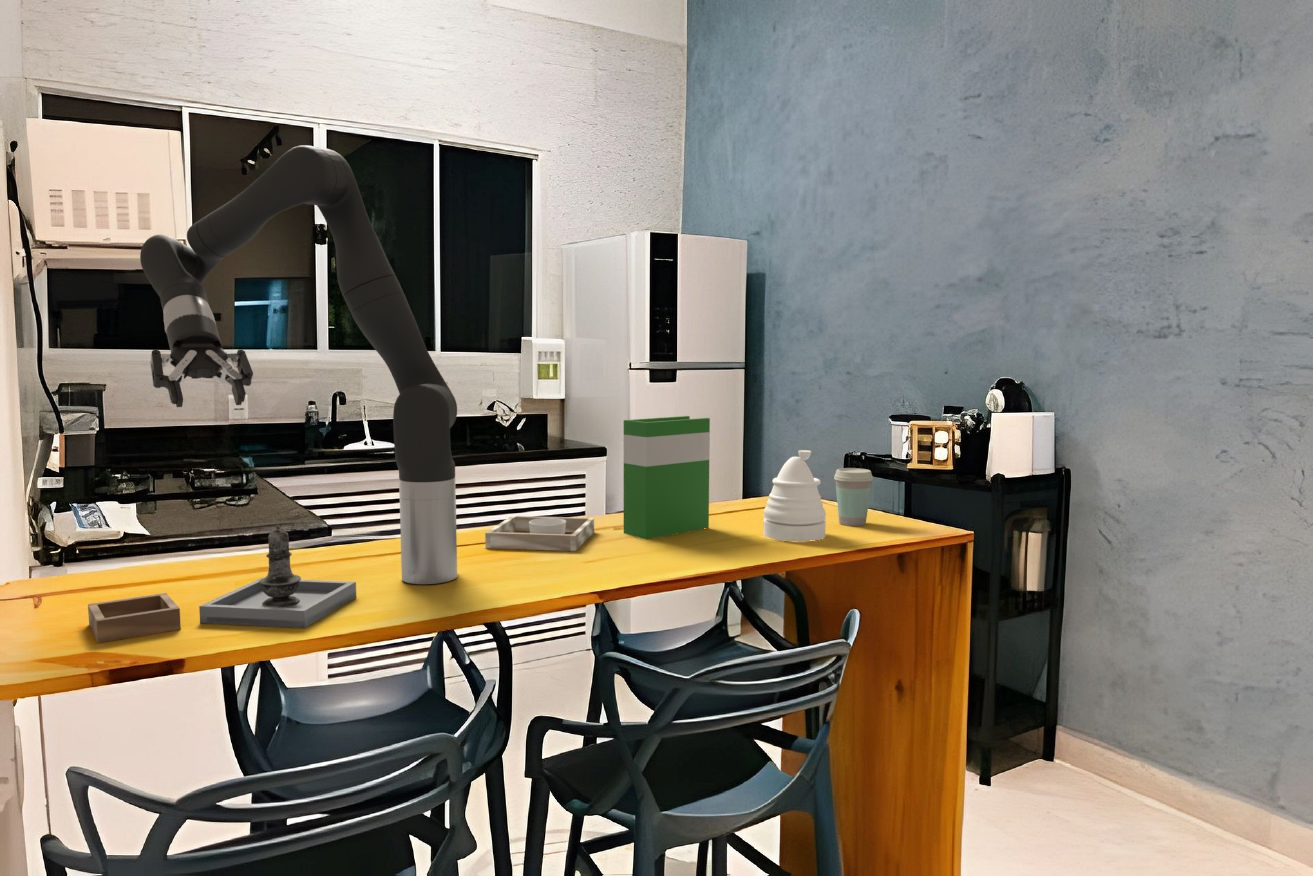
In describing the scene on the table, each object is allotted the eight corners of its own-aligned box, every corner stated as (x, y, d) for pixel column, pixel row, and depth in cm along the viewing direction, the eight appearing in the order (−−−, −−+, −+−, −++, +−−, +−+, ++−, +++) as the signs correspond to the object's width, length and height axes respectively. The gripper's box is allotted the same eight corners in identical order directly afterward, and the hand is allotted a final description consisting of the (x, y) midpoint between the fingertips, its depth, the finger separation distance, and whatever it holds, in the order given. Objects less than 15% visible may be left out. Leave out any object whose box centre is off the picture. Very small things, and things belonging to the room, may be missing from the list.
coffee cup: (866, 519, 213) (867, 467, 211) (876, 527, 204) (878, 473, 203) (829, 520, 212) (830, 467, 211) (837, 527, 204) (839, 473, 203)
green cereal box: (686, 523, 208) (686, 415, 206) (708, 528, 203) (709, 418, 200) (623, 533, 197) (623, 420, 194) (645, 539, 191) (645, 422, 189)
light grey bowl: (568, 550, 182) (568, 526, 181) (518, 549, 182) (517, 526, 182) (575, 539, 192) (575, 517, 191) (527, 538, 192) (527, 516, 192)
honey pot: (834, 533, 197) (836, 449, 196) (812, 545, 186) (813, 455, 185) (777, 527, 204) (779, 445, 202) (753, 538, 193) (754, 451, 191)
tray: (261, 593, 149) (261, 578, 149) (356, 597, 147) (355, 581, 147) (200, 623, 134) (199, 606, 133) (304, 628, 132) (304, 610, 131)
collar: (89, 624, 133) (87, 604, 132) (167, 612, 139) (166, 592, 138) (98, 643, 125) (96, 621, 125) (180, 629, 131) (179, 608, 131)
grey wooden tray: (512, 529, 200) (511, 515, 200) (594, 532, 198) (594, 518, 198) (485, 548, 183) (485, 532, 182) (575, 551, 180) (575, 535, 180)
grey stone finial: (284, 595, 145) (281, 519, 143) (310, 601, 142) (307, 523, 140) (251, 604, 140) (248, 525, 138) (276, 610, 137) (273, 529, 135)
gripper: (144, 311, 146) (161, 387, 138) (241, 313, 155) (262, 385, 147) (140, 345, 151) (157, 420, 143) (234, 345, 160) (255, 416, 152)
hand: (210, 402), depth 145 cm, fingers open, 8 cm apart
